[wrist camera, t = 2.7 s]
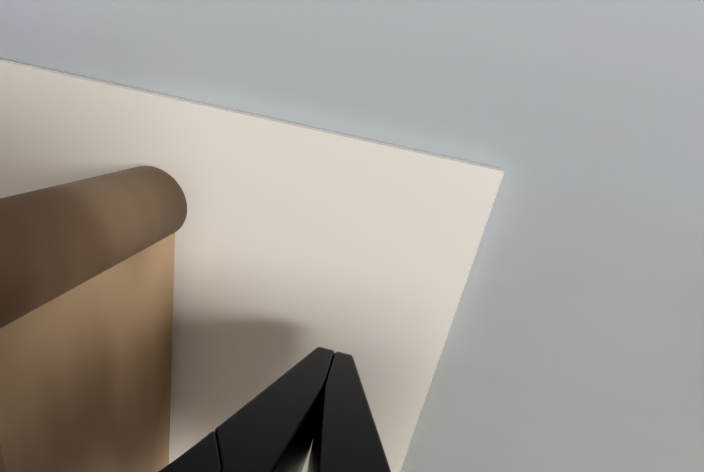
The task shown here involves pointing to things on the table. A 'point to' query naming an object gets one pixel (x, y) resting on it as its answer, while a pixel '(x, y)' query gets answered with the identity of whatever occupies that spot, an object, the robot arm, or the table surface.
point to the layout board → (270, 239)
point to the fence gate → (88, 323)
